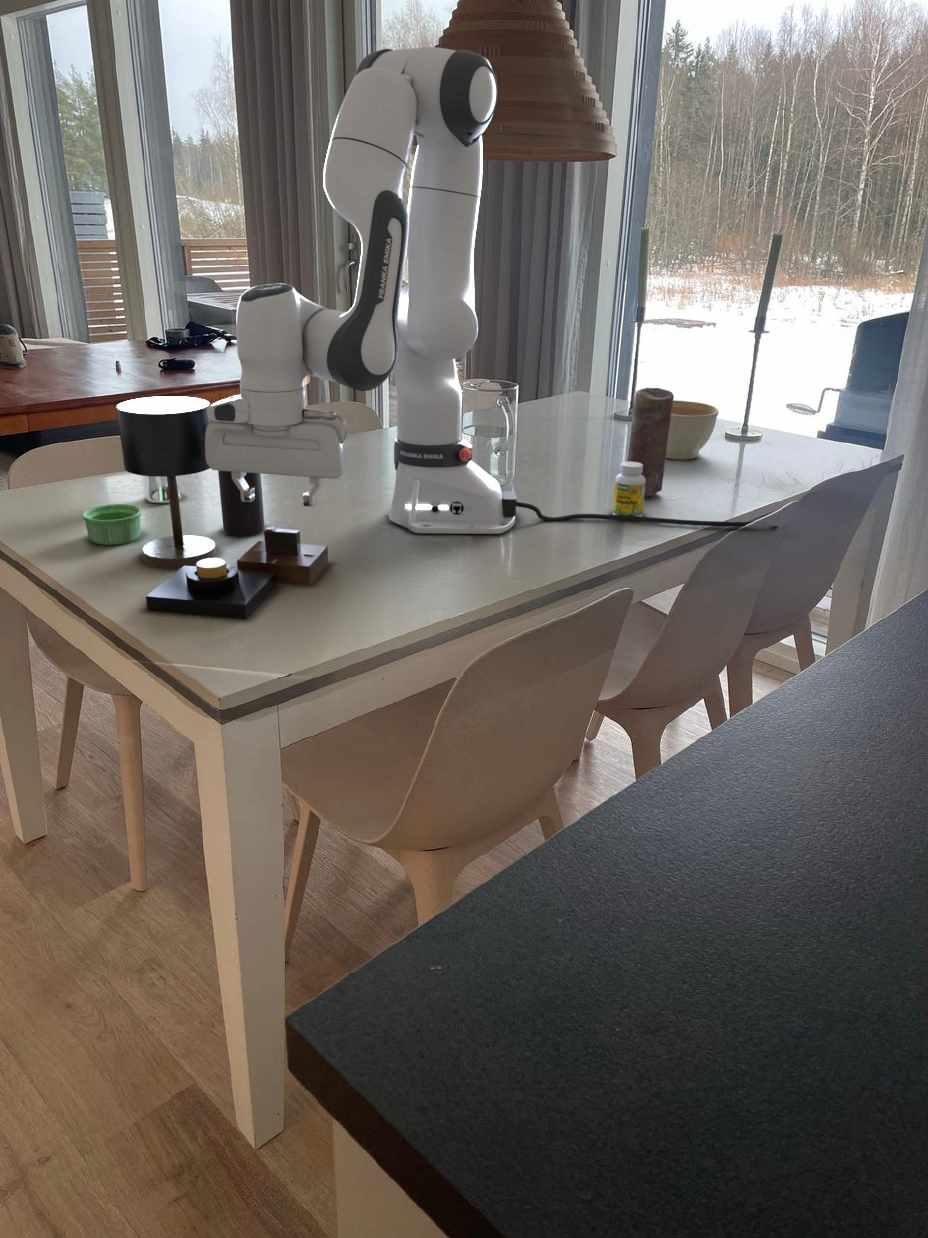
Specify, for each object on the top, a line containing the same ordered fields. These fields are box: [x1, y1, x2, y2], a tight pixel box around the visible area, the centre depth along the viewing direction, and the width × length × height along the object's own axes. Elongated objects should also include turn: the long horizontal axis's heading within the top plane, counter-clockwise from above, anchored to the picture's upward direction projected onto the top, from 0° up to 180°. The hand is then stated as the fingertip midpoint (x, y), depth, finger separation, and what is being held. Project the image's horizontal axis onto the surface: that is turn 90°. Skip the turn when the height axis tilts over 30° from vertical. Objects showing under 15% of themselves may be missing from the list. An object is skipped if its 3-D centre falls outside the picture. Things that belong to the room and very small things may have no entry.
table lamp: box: [115, 395, 217, 569], centre depth 140 cm, size 13×13×24 cm
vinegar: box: [217, 470, 266, 537], centre depth 153 cm, size 7×7×20 cm
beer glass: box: [146, 476, 182, 505], centre depth 169 cm, size 7×7×15 cm
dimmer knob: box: [263, 526, 301, 555], centre depth 138 cm, size 5×2×4 cm, turn 81°
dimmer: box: [236, 540, 329, 586], centre depth 139 cm, size 11×9×3 cm
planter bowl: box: [666, 399, 720, 461], centre depth 209 cm, size 16×16×11 cm
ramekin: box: [82, 503, 142, 546], centre depth 151 cm, size 9×9×4 cm
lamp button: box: [196, 557, 227, 578], centre depth 128 cm, size 4×4×2 cm
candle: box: [626, 387, 675, 497], centre depth 178 cm, size 8×7×20 cm
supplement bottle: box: [612, 461, 646, 517], centre depth 167 cm, size 5×5×10 cm
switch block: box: [145, 563, 278, 621], centre depth 129 cm, size 14×12×4 cm
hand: (279, 503), depth 135 cm, fingers open, 8 cm apart
